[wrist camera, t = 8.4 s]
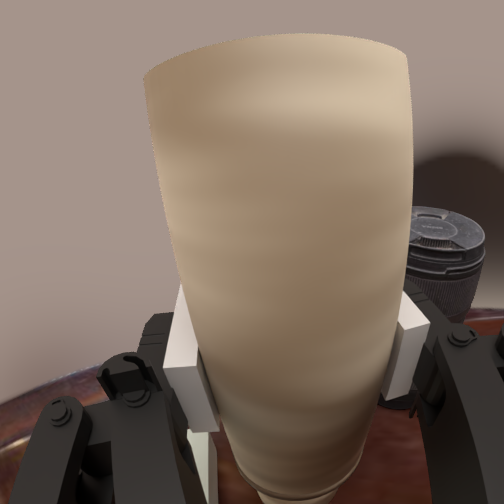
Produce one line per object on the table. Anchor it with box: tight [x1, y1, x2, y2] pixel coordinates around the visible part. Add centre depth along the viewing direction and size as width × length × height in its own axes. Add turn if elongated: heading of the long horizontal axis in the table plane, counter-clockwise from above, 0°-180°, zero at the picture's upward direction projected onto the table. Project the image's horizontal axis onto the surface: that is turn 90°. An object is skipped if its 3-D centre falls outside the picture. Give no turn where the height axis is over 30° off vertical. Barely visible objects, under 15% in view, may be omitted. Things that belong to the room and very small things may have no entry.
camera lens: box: [378, 206, 485, 409], centre depth 21 cm, size 8×8×15 cm
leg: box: [144, 34, 413, 504], centre depth 8 cm, size 5×5×16 cm
